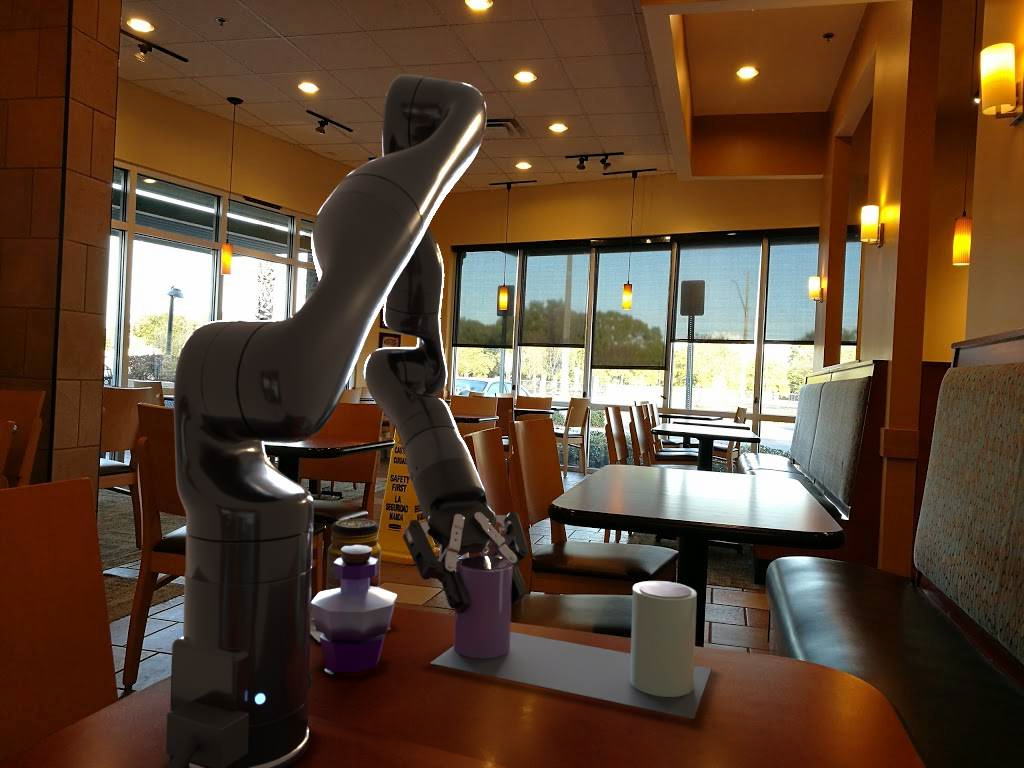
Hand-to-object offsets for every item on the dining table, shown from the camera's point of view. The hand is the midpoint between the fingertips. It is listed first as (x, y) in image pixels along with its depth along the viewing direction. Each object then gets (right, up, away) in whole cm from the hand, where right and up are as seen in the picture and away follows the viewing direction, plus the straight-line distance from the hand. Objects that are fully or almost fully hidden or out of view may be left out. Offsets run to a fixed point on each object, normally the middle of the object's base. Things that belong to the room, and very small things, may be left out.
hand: (491, 604), depth 76 cm
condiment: (-17, -5, +8) cm, 20 cm away
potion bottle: (-14, -6, -3) cm, 15 cm away
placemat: (+8, -6, -2) cm, 10 cm away
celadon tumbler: (+16, -6, -6) cm, 18 cm away
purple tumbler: (-1, -5, +2) cm, 5 cm away
